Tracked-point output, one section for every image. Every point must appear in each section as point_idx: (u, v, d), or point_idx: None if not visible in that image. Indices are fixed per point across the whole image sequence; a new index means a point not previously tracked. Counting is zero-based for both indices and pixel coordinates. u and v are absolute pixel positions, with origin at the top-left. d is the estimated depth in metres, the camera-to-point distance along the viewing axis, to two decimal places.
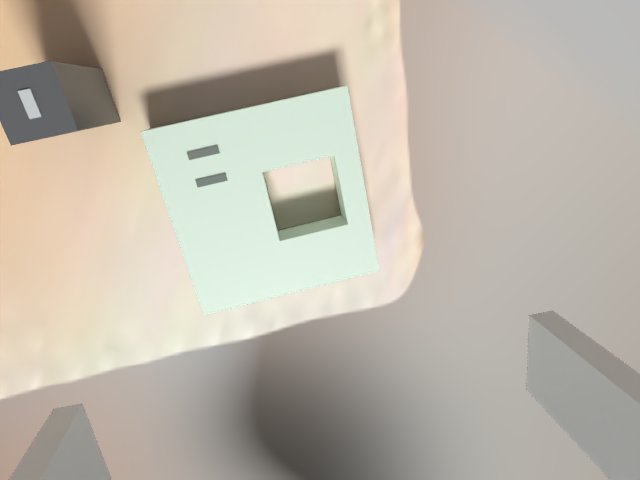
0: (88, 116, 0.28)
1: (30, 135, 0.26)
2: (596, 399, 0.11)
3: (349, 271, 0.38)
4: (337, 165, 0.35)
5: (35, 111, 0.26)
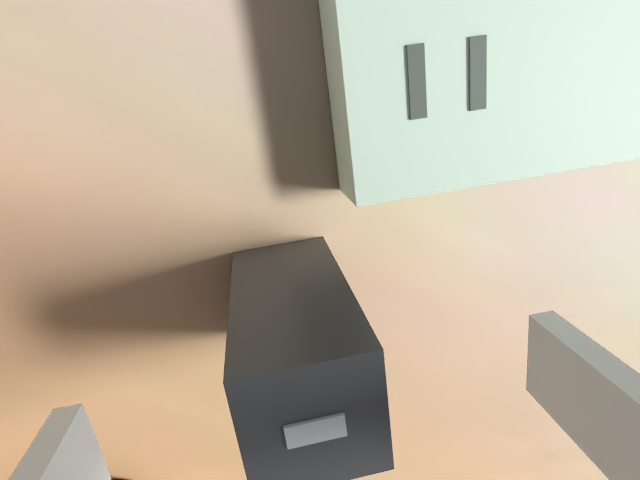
0: (335, 308, 0.13)
1: (380, 436, 0.12)
2: (596, 399, 0.11)
3: None
4: None
5: (332, 423, 0.11)
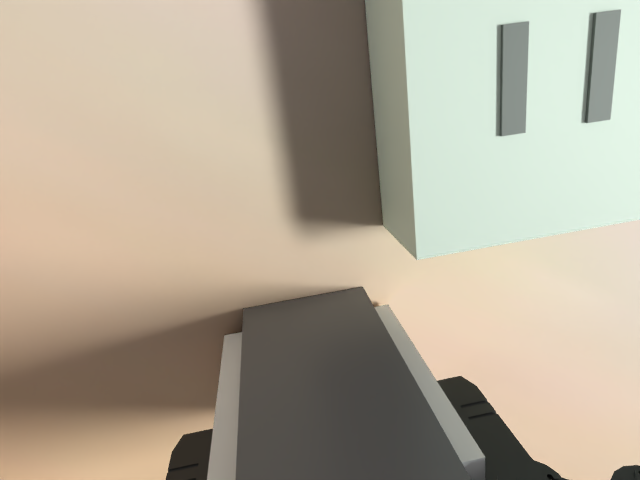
0: (406, 436, 0.08)
1: None
2: None
3: None
4: None
5: None
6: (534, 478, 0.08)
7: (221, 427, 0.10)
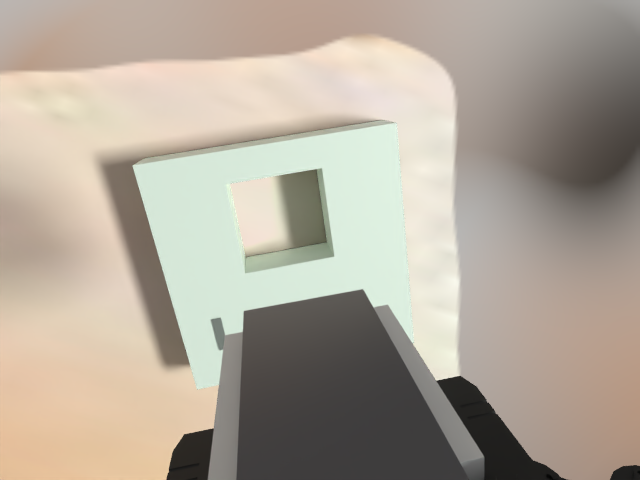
0: (407, 440, 0.08)
1: None
2: None
3: (389, 167, 0.28)
4: (239, 180, 0.26)
5: None
6: (533, 478, 0.08)
7: (222, 427, 0.10)
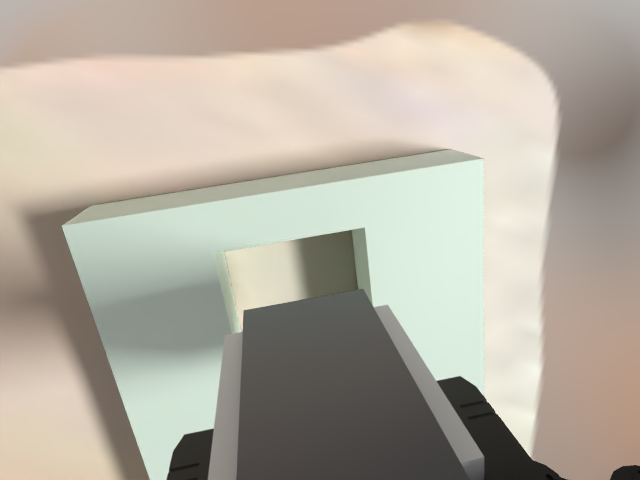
0: (407, 439, 0.08)
1: None
2: None
3: (468, 225, 0.18)
4: (235, 247, 0.17)
5: None
6: (533, 478, 0.08)
7: (222, 427, 0.10)
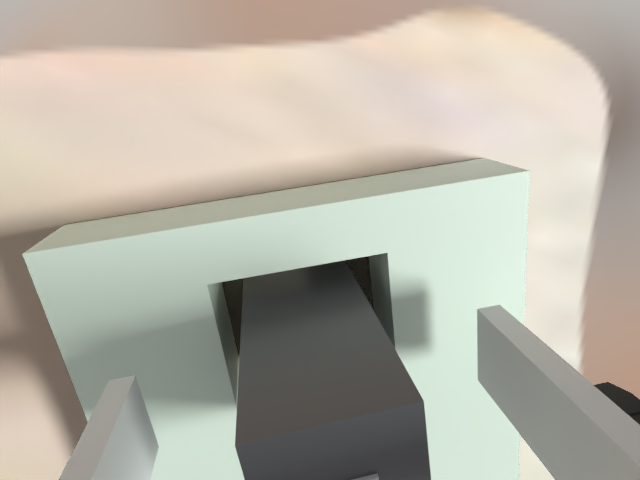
0: (362, 344, 0.11)
1: None
2: (529, 386, 0.11)
3: (508, 249, 0.15)
4: (233, 277, 0.14)
5: None
6: None
7: None
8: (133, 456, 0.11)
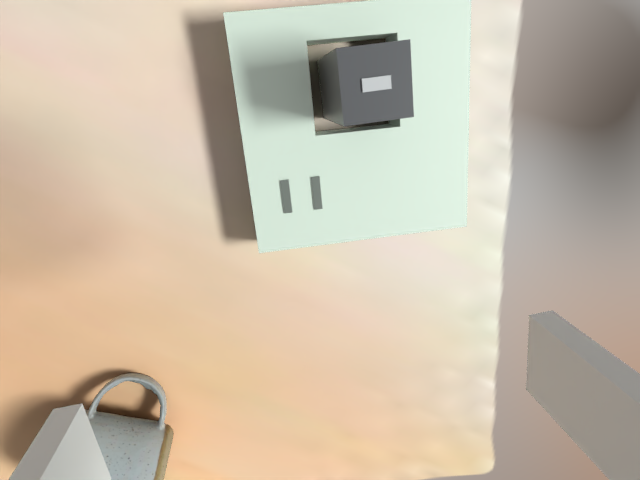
0: None
1: (407, 93, 0.24)
2: (596, 399, 0.11)
3: (460, 38, 0.29)
4: (319, 38, 0.28)
5: (384, 81, 0.23)
6: None
7: None
8: None
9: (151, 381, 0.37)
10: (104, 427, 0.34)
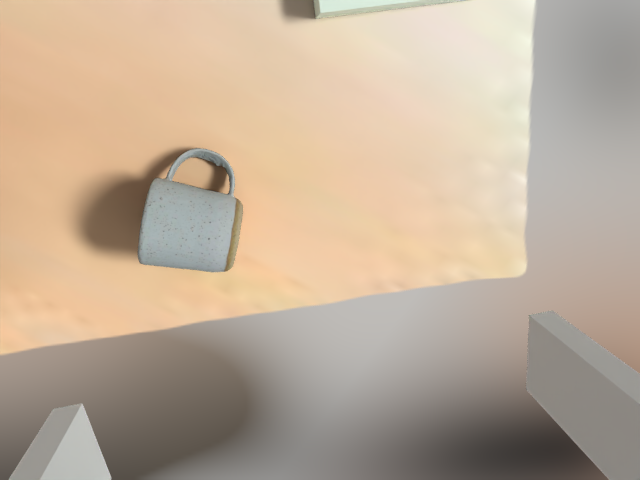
0: None
1: None
2: (596, 399, 0.11)
3: None
4: None
5: None
6: None
7: None
8: None
9: (220, 155, 0.40)
10: (183, 185, 0.38)
